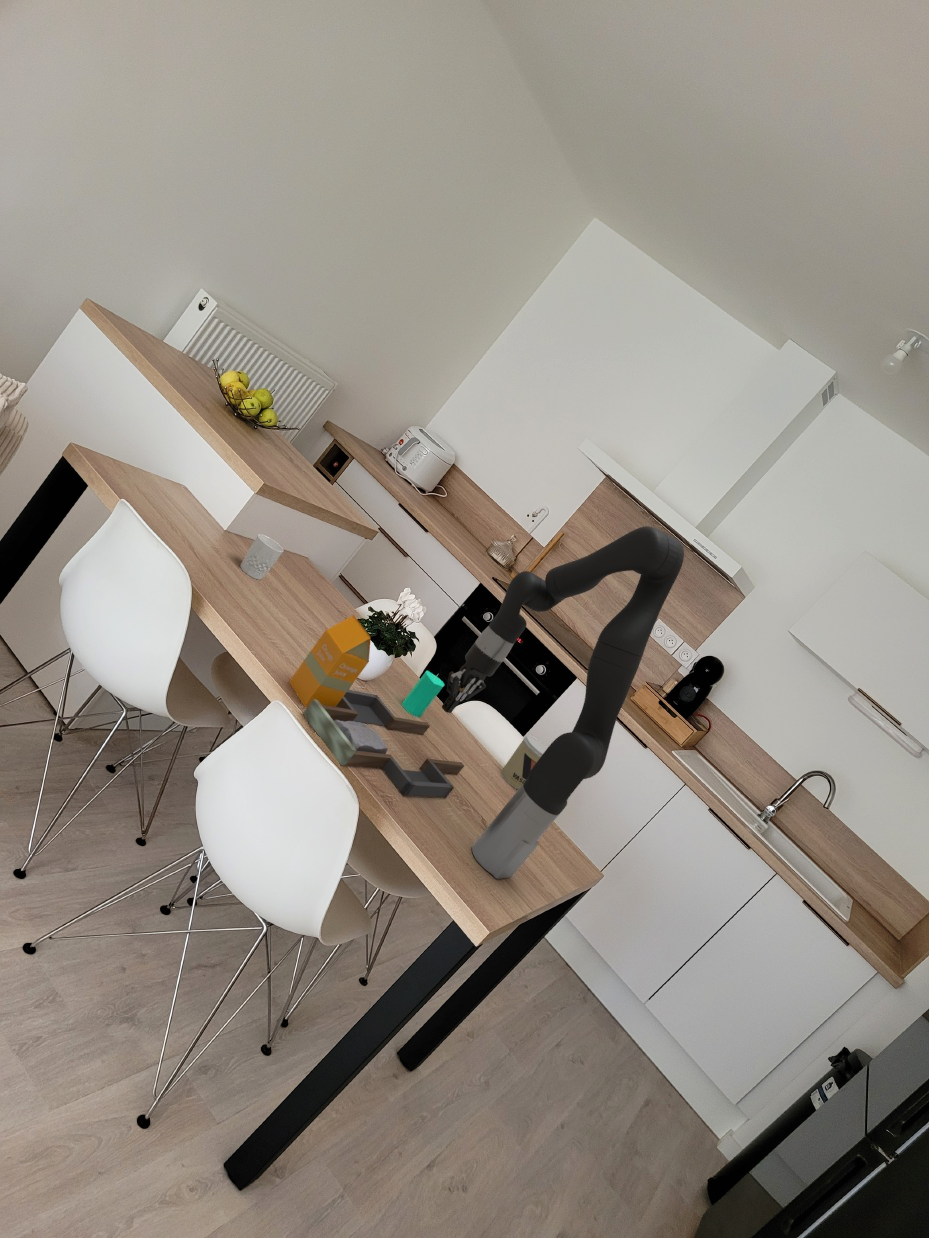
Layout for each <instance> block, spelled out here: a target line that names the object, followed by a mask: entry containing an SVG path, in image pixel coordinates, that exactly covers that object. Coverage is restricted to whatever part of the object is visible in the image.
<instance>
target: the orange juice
mask: <svg viewBox="0 0 929 1238" xmlns="http://www.w3.org/2000/svg"><path fill="white" fill-rule="evenodd" d="M371 639H372V637H371V636H370V634H369V633H368V632H367V631H366V629H365V627H364V626H363V625H361V623H360V621H359V620H358V619H357V617H356V616H355V615H354V614H353V615H351V616H349V617H348V618H345V619H344V620H342V621H340V622H338V623H336V624H334V625H333V626H331V627H329V628H327V629H325V631H324V632H323V633H322V635H321V636H320V637H319V638H318V641H316V643H315V645H314V646H313V647H312V649H311V650H310V651H309V653H308V654H307V655H306V656H305V658H304V660H303V662H302V663H301V664H300V665H299V667H298V668H297V670H296V671H295V673H294V674H293V675H292V677H291V679H290V680H289V682H288V683H289V684H290V686H291V687H292V689H293V690H294V692H295V693H296V695H297V697H298V699H299V700H300V702H301V703H302V705H303V707H305V708H307V707H308V706H309V704H310V703H311V702H312V700H313V699H316V700H318V701H319V703H320V704H321V705H326V706H332V707H336V706H337V704H338V703H339V702H340V700H341V699H342V698H343V696H344V695H345V694H346V693H347V691H348V690H351V689H350V688H351V687H352V685H354V683H355V681H356V680H357V679H358V677H359V676H360V675H361V673H362V672H363V670H364V669H365V667H367V665H368V664H369V662H370V652H371V651H370V650H371Z"/></svg>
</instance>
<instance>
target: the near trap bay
mask: <svg viewBox="0 0 929 1238" xmlns="http://www.w3.org/2000/svg"><path fill="white" fill-rule="evenodd" d="M381 770H382V771H383V773H385V774H386V775H385V776H387V778H389V780H390V781H391V782H392V784H393V786H394V787H395V788H396V789H397V790H398V792H399V793H400V794H401V795H402V797H416V798H417V797H418V798H440V799H441V798H442V799H443V798H444V799H446V798H448V796H449V795H450V793H451V792H452V791H453V790H454V788H455V787H454V786H453V784H452V783H451V781H449V780H448V778H447V777H446V776H445V774H442V773H441V771H440V770H439V769H438V768H437V767H436V765H435V764H434V763H433V762H430V763H429V764H428V765H427V767H426V768H425V769H424V770H423V772H422V771H421V770H410V769H403V768H402V767H401V766H400V764H399V762H397V761H396V759H395V758H394V757H393V758H390V759H389V760H388V762H387V763H386V764H385V766H384V767H383V768H382V769H381Z"/></svg>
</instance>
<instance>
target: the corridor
mask: <svg viewBox="0 0 929 1238" xmlns="http://www.w3.org/2000/svg"><path fill="white" fill-rule="evenodd" d="M302 715H303V717H304V718H305V719H306V721H307V722H308V723H309V725H310V726H311V727H312V729H313V730H314V731H315V733H316V734H317V736H318V738H320V740H321V741H322V743H323V744H324V745H325V746H326V748H327V749H328V750H329V751H330V753H331V754H332V755H333V757H334V758H335V760H336V761H337V762H338V764H339V765H340V766H343V767H344V766H347V767H357V768H368V769H379V770H380V769H381V770H382V768H383V767H384V766H385V764H386V763H387V762H388V760H389V759H390V758H394V756H392V754H390V753H386V754H381V753H372V752H363V751H356V749H355V748H354V747H353V745H352V744H351V743H350V742H349V740H348V739H347V738H346V736H345V735H344V734H343V732H342V731H341V730H340V729H339V727H338V726H337V725H336V723H335V722H334V720H339V721H344V722H346V721H353V720H354V719H355V718H356V716H357V715H358V713H357V712H356V711H355V710H350V709H344V708H338V707H332V706H326V705H321V704H320V703H319V701H318V700H316V699H313V700H312V702H311V703H310V704H309V706H308V707H306V709H305V710H304V712H303V713H302ZM384 727H385V729H386V730H387V731H393V732H400V733H407V734H413V735H421V736H424V735H425V734H426V732H427V731H428V729H429V728H430V727H431V725H430V724H429V723H428V721H427V722H425V721H420V720H414V719H408V718H401V717H398V716H397V717H396V716H395V717H391V719H390V720H389V721H388V723H387V724H386V725H385V726H384ZM430 762H433V763H434V764H435V765H436V767H437V768H438V769H439V770H440V771H441V773H442V774H443V775H451V776H458V774H459V773H460V772H461V771H462V770H463V768H464V767H465V764H464V763H463V762H461V761H454V760H446V759H445V760H444V759H435V758H426V759H425V760H424V761H423V763H422V764H421V766H420V767H419V771H422V772H423V770H424V769H425V768H426V767H427V765H428V764H429V763H430Z"/></svg>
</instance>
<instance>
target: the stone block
mask: <svg viewBox="0 0 929 1238" xmlns="http://www.w3.org/2000/svg"><path fill="white" fill-rule="evenodd" d="M334 722H335V723H336V725H337V726H338V727H339V729H340V730H341V731H342V732H343V734H344V735H345V736H346V738H347V739H348V740H349V742H350V743H351V744H352V745H353V747H354V748H355V749H356V751H363V752H372V753H381V754H387V752H388V750H389V747H388V746H387V745H386V743H385V742H384V740H383V738H382V737H381V736H380V735H379V733H378V732H377V731H376V729H375V730H374V729H372V728H371V727H370V726H369V725H366V723H361V722H355V721H346V722H344V721H339V720H334Z"/></svg>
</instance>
